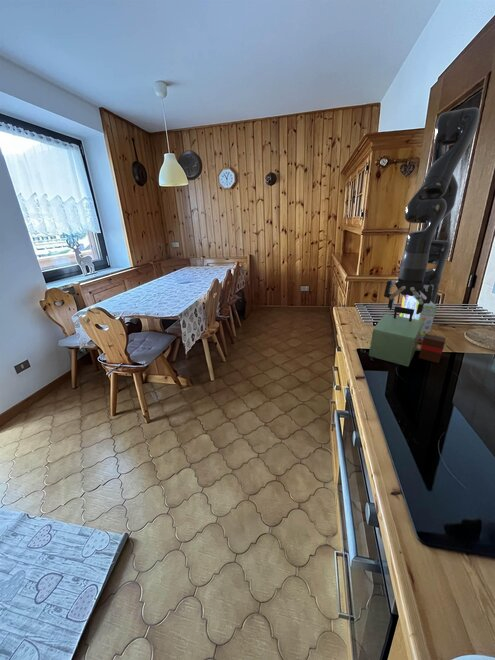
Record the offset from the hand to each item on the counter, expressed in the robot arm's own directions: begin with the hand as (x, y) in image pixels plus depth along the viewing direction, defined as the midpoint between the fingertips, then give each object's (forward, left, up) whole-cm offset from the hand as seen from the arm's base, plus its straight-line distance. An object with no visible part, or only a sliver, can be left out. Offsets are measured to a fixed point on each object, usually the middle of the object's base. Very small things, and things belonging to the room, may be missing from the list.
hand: (403, 311), depth 99 cm
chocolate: (+4, +11, -14) cm, 18 cm away
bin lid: (+5, 0, -4) cm, 7 cm away
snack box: (-15, +2, -14) cm, 21 cm away
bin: (+6, 0, -14) cm, 15 cm away
